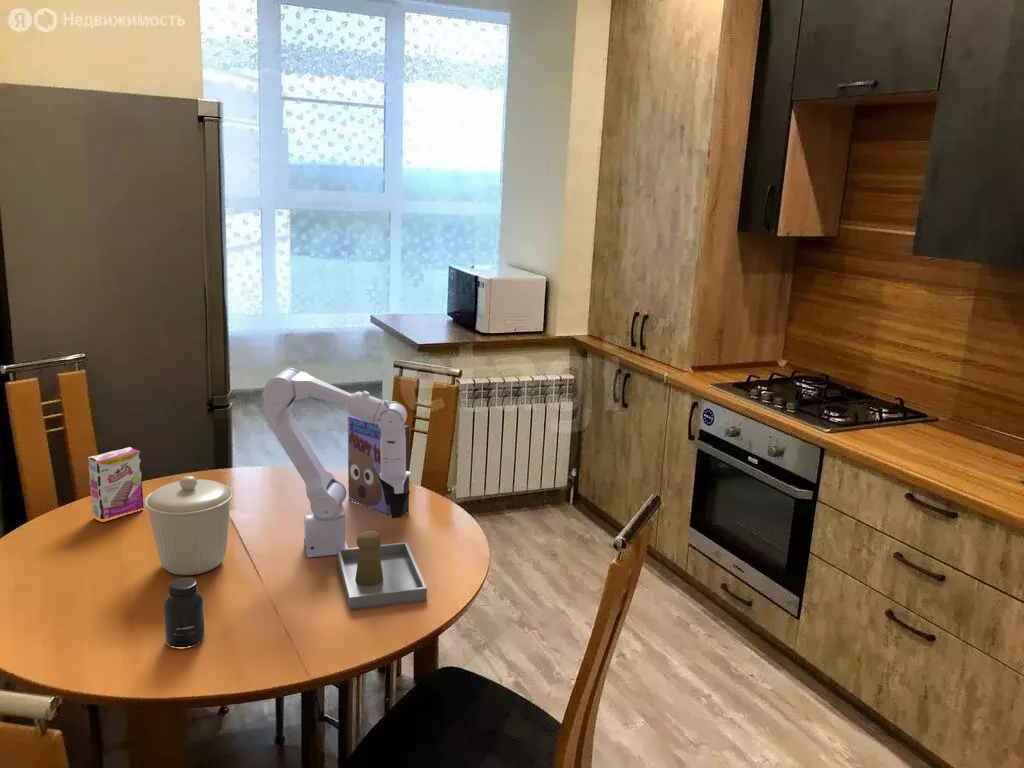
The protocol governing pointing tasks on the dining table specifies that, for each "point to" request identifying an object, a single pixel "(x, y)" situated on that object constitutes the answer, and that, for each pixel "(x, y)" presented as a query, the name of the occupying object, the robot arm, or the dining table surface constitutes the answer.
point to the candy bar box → (115, 482)
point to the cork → (369, 559)
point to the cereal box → (369, 465)
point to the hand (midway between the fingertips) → (393, 510)
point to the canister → (190, 524)
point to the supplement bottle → (184, 613)
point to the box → (397, 583)
